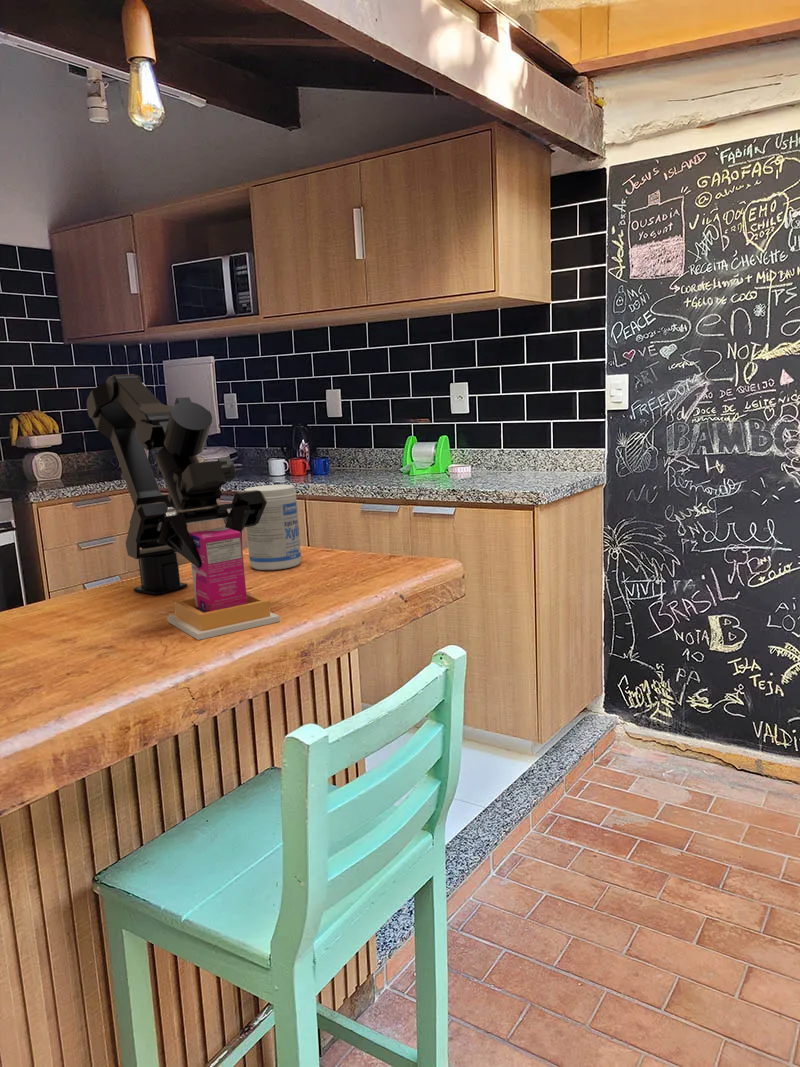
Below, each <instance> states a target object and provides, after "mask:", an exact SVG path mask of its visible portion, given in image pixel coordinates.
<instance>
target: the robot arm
mask: <svg viewBox="0 0 800 1067" xmlns="http://www.w3.org/2000/svg"><path fill="white" fill-rule="evenodd" d="M86 409H87V410H86V412H87V414H88V417H89V418H90V419H92V422H93V424H94V426H95V429H96V430H97V431H98V432H99V433H100V434H102V435H103V436H105V437H106V438H108V439H109V440H110V441H111V444H112V447H113V450H114V453H115V456H116V459H117V462H118V463H119V467H120V469H121V470H120V471H121V472H122V475H123V478H124V481H125V483H126V487H127V490H128V492H129V495H130V498H131V500H132V503H133V510H132V512H131V517H130V520H129V527H128V531H127V536H126V540H125V548H126V553H127V556H129V557H131V558H133V559H135V560H138V567H139V568H138V569H139V576H140V577H139V578H140V585H139V586H136V587H133V591H134V592H138V593H144V594H148V595H153V596H155V595H156V596H157V595H163V594H165V593H168V592H173V591H177V590H180V589H183V588H187V587H188V583H186V582H181V579H180V568H179V562H178V557H177V553H179V554H180V555H181V556H182V557H184V558H185V559H186V560H187V561H189V562H190V563H192V564H194V565H195V566H196V567H197V568H200V567H201V565H202V562H201V559H200V555H199V553H198V551H197V549H196V547H195V544H194V542H193V540H192V538H191V536H190V534H189V533H190V531H189V530H188V525H191V524H198V523H205V522H213V521H218V520H219V521H221V520H222V521H223V522H224V525H225V526H224V527H226V528H229V529H232V530H235V531H239V532H241V540H242V541H243V532H242V531H243V530H244V529H245V528H247V527H250V526H255V525H256V524H258V523H259V521H260V518H261V516H262V513H263V511H264V508H265V506H266V504H267V501H266V499H265V497H264V495H263V493H262V492H261V491H258V490H253V491H245V492H244V491H238V492H235V494H234V497H233V498H232V501H231V503H223V504H219V503H218V502H217V500H218V499H219V500H220V499H221V497H222V494H223V493H222V491H221V487H222V486H224V485H227V483H230V482H232V481H233V480H234V479H235V477H236V476H237V475H236V474H237V472H236V469H235V466H234V463H233V462H232V460H231V458H230V457H229V456H228V457H219V458H218V459H217V460H212V461H201V462H200V461H199V458H198V457H197V456H198V455H199V454H201V453H203V451H204V448H205V447H206V446H205V445H206V442H207V439H208V435H209V433H210V429H211V425H212V423H213V415H212V413H211V411H209V410H208V409H207V408H205V407H204V406H203V405H201V404H199V403H196V402H192V399H191V397H190V396H187V397H185V396H184V397H176V398H175V401H174V405H167V404H163V403H162V402H161V401H160V400H159V399H158V398H157V397H156V396H155V395H154V394H153V393H152V392H151V390H150V389H148V387H147V386H145V384H143V381H142V377H141V376H140V375H136V373H128V374H113V375H112V376H108V377H107V379H106V381H105V382H103V383H101V384H99V385H97V386H95V387H94V388H92V389H91V391H90V393H89V395H88V397H87V399H86ZM155 450H156V451H157V450H158V451H157V453H156V455H155V456H156V457H155V460H156V461H155V462H156V463H157V468H156V470H157V475H159V476H162V478H163V481H164V482H165V486H166V488H167V491H168V494H163V493H162V492H161V490H160V487H159V485H158V482H157V479H156V477H155V475H154V474H155V473H154V471H153V468H152V466H151V464H150V461H149V458H148V455H147V452H146V451H155ZM242 551H243V549H242Z"/></svg>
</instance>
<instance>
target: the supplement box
mask: <svg viewBox="0 0 800 1067" xmlns="http://www.w3.org/2000/svg"><path fill="white" fill-rule="evenodd" d="M189 534H190V536H191V538H192V540H193V542H194V544H195V547H196V549H197V551H198V553H199V555H200V559H201V562H202V565H201V567H200V568H197V567H196V566H195V565H194V564H192V563H191V562H190V563H191V571H192V582H193V583H192V584H193V591H194V592H193V593H194V594H193V595H194V597H195V604H196V609H197V610H199V611H201V612H203V613H206V612H210V611H215V610H220V609H225V608H230V607H234V606H239V605H244V604H247V594H246V591H247V586H246V575H245V566H244V564H245V562H244V554H243V551H242V550H243V539H242V540H241V532H239V531H235V530H232V529H229V528H226V527H225V526H221V527H216V528H211V529H204V530H198V531H192V532H189Z"/></svg>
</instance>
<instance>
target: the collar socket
mask: <svg viewBox="0 0 800 1067" xmlns="http://www.w3.org/2000/svg"><path fill="white" fill-rule="evenodd" d="M246 594H247V604H244V605H239V606H234V607H230V608H225V609H220V610H215V611H210V612H206V613H203V612H201V611H199V610H197V609H196V604H195V596H193V597H189V598H185V599H184V598H183V599H179V600H174V601H173V604H174V614H171V615H170V614H168V615H166V619H167V620H166V621H167V622H168V623H170V624H171V625H173V626H174V627H176V628H178V629H179V630H180V631H182V632H184V633H186V634H187V635H189V636H191V637H193V638H194V639H196V640H197V641H200V640H204V639H208V638H209V639H210V638H213V637H217V636H222V635H227V634H231V633H234V632H235V633H236V632H239V631H244V630H248V629H249V630H250V629H253V628H256V627H257V628H258V627H262V626H266V625H270V624H274V623H279V622H281V617H280V615H279V614H276V613H273V612H271V608H270V600H268V599H266V598H263V597H261V596H258V595H256V594H253V593H251V592H250V591H249V592H248V591H247V590H246Z"/></svg>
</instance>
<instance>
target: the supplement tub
mask: <svg viewBox="0 0 800 1067" xmlns="http://www.w3.org/2000/svg"><path fill="white" fill-rule="evenodd" d="M253 490H258V491H261V492H262V493H263V495H264V497H265V499H266V501H267V504H266V506H265V508H264V511H263V513H262V516H261V518H260V521H259V523H258V524H256V525H255V526H250V527H246V534H247V536H246V537H247V544H248V545H247V546H248V557H249V558H248V559H249V564H250V566H251V568H253V569H254V570H258V571H278V570H284V569H285V570H286V569H290V568H293V567H296V566H298V565H299V564H300V563H301V562H302V553H301V550H302V549H301V540H300V528H299V527H300V526H299V525H300V524H299V514H298V501H297V493H296V486H295V485H294V484H267V485H266V484H265V485H259V486H258V485H257V486H251V487H247V488H244V490H243V492H245V491H253Z"/></svg>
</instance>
